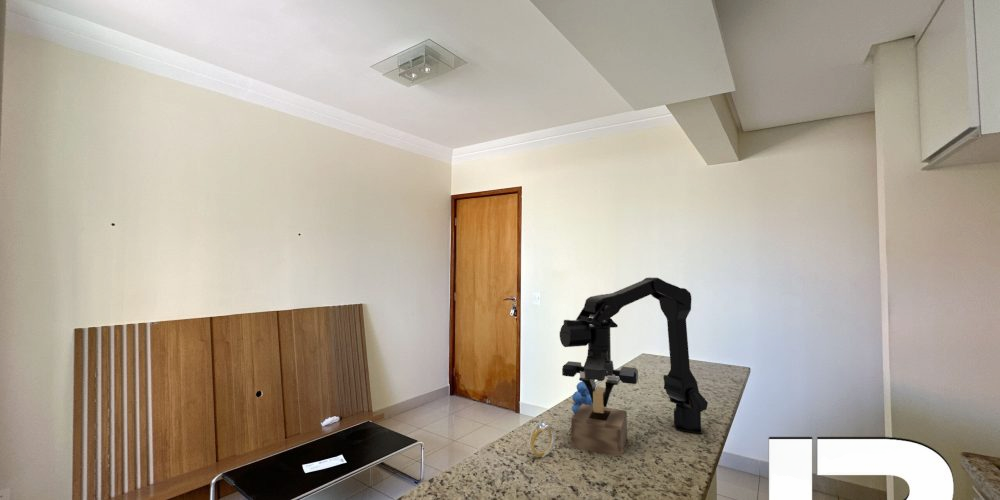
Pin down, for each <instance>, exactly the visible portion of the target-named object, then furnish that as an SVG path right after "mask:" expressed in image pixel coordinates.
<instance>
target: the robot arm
mask: <svg viewBox="0 0 1000 500" xmlns="http://www.w3.org/2000/svg"><path fill="white" fill-rule="evenodd" d="M648 296H651V297H652V298H654V299H656V300H658V302H659V307H660V310H661V311H662V313H663V315H664V316H665V318H666V322H667V335H668V336H667V337H668V349H669V361H670V362H669V363H670V369H669V371H668V374H663V382H664V383H663V385H664V386H663V389H664V390H665V393H666V395H668V397H669V401H670V403H673V404H675V407H674V408H673V425H674V426H675V430H676V431H680V432H687V433H692V434H699V435H700V434H701V435H702V434H703V430H702V414H701V413H703V412H704V411H706V410H707V409H708V408H707V407H708V402H709V401H707V400H706V398H705V397H704V396H703V395H702V394H701V393H700V390H699V386H698V381H697V379H696V378H695V376H694V374H693V372H692V371H691V368H690V367H691V365H690V356H689V355H690V354H689V352H690V351H689V342H688V341H689V340H688V328H687V318H688V317H689V314H690V312H691V310H692V293H691V292H690V291H689V290H688V289H687V288H685V287H684V288H683V287H679V286H677V285H675V284H672V283H670V282H667V281H664V280H663V279H661V278H659V277H650V276H649V277H645V278H644V279H642V280H641V281H638V282H636V283H633V284H630V285H629V286H626V287H624V288H620V289H619V290H617V291H614V292H611V293H605V294H598V295H597V294H596V295H593V296H589V297H587V298H586V299H585V302H584V305H583V308H582V309H581V311H580V313H579V314H578V315H577V317H576V319H563V324H562V325H561V326H560V327H561V328H560V331H559V340H560V342H561V345H562V346H563V347H564V348H572V347H573V348H574V347H586V346H587V356H586V359H585V361H584V365H583V366H582V362H580V361H570V360H569V361H567V362H566V363H565V364H564V365H562V368H561V369H562V371H561V374H562V376H563V377H571V378H574V377H575V376H576V375H577V374H579V378H578V380H579V382H582V381H583V382H584V383H585V385H586V386H587V389H588V391H589V394H590V397H591V399H592V402H593V391H594V390H595V389H596V388H595V384H596V381H599V382H603V381H604V380H605V378H607V379H606V381H605V388H606V389H605V399H604V405H605V407H606V406H608V403H609V400H610V397H611V393H612V391H613V388H614V386H618V385H619V383H620V381H621V382H622V383H623V384H630V385H637V383H638V380H639V370H638V369H637V368H636V367H630V366H629V367H628V366H622V367H621V368H620V369H615V368H614V363H613V362H614V361H613V360H612V357H611V354H612V353H611V352H612V351H611V348H612V347H611V329H612V328H618V324H617V323H616V322H615V321H614V320H613V319H612V318H613V317H614V316H616V315H617V314H618V313H619V312H620V310H621V309H622V308H624V307H626V306H628V305H630V304H633V303H634V302H635V303H636V302H637V301H639V300H641V299H644V298H646V297H648Z"/></svg>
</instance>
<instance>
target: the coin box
mask: <svg viewBox="0 0 1000 500" xmlns="http://www.w3.org/2000/svg"><path fill="white" fill-rule="evenodd" d="M627 412H628V411H627V410H625V409H617V408H610V407H607V408H606V409H605V411H604V413H596V412H593V406H592V405H585V404H582V405H581V406H580V407H579V409H578V410H577V412H576V413H575V414H574V413H573V416H572V417H571V419H570V420H571V422H570V427H571V428H570V431H571V433H570V434H571V435H570V438H571V444H570V445H571V448H574V449H578V450H584V451H588V452H589V451H590V452H594V453H600V454H605V455H610V456H615V457H620V458H621V457H622V455H623V452H624V449H625V446H626V442H627V438H628V413H627Z"/></svg>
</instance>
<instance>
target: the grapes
mask: <svg viewBox="0 0 1000 500" xmlns="http://www.w3.org/2000/svg"><path fill="white" fill-rule="evenodd" d="M596 387H597V384H596V383H595V389H596ZM575 388H576V391H575V392H574V393H573V395H572V396H571V397H572V401H573V402H574V403H573V404H572V406H571V410H572V413H573V415H574V414H575V413H576V412H577V410H578V409H579V407H580V406H581V405H582V404H585V405H592V406H593V402H592V399H591V397H590V394H589V391H588V389H587V386H586V385H585V383H584V382H583V381H579V382H578V383H577V385H576V387H575Z"/></svg>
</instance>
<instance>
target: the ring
mask: <svg viewBox="0 0 1000 500" xmlns="http://www.w3.org/2000/svg"><path fill="white" fill-rule="evenodd" d="M547 423H548V422H547V421H545V422H544V423H543V422H542V421H541V420H540V421H538V422H537V423H536V424H535V425H534V427H532V429H531V432H530V435H529V441H528V442H529V443H528V445H529V449H530V451H531V453H532V454H533V455H534V456H536V457H538V458H545V457H546V456H547V455H549V454H550V452H551V451H552V450H553V447H554V446H555V440H556V436H555V430H554V429H553V426H550V425H548V424H547ZM544 430H546V431H547V432H548V435H549V444H548V447H547V448H546V449H545V450H544V451H539V452H537V451H536V449H535V442H536V440H537V438H538V437H539V436H540V434H541V433H542V432H543V431H544Z"/></svg>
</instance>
